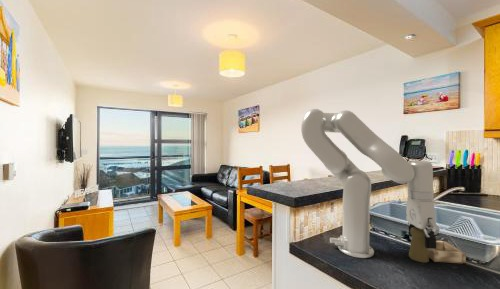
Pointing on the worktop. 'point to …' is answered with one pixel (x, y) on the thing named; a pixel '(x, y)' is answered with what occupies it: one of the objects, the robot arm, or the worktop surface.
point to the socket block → (446, 253)
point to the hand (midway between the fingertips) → (421, 241)
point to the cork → (418, 245)
